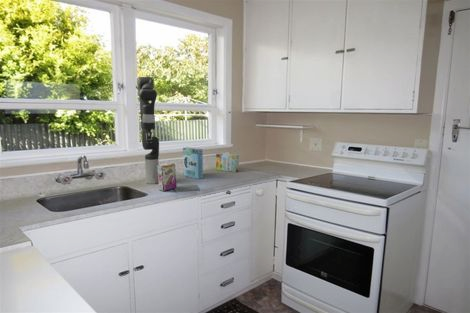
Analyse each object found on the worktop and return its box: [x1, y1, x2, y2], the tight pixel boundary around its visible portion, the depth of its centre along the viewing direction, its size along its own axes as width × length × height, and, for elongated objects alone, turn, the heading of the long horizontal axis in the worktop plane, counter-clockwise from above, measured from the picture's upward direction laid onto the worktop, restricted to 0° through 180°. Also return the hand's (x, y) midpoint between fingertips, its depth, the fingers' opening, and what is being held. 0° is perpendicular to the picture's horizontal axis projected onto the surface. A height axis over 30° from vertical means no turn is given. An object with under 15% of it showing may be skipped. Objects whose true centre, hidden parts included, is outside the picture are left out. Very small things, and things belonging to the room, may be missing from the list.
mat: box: [173, 184, 201, 193], centre depth 204 cm, size 15×16×1 cm
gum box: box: [182, 146, 204, 180], centre depth 241 cm, size 20×5×23 cm, turn 45°
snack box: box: [215, 152, 240, 173], centre depth 270 cm, size 21×6×15 cm, turn 58°
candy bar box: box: [157, 162, 177, 192], centre depth 200 cm, size 11×5×16 cm, turn 141°
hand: (149, 148), depth 193 cm, fingers open, 6 cm apart
